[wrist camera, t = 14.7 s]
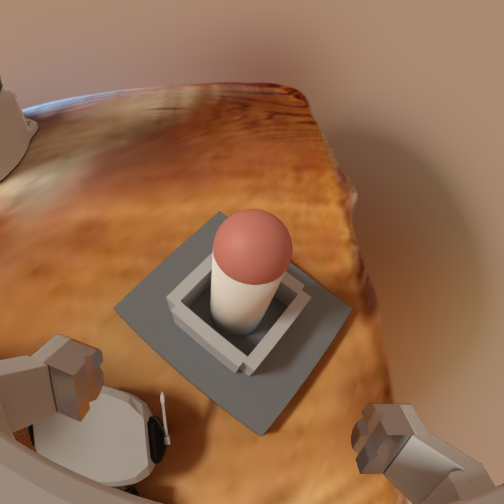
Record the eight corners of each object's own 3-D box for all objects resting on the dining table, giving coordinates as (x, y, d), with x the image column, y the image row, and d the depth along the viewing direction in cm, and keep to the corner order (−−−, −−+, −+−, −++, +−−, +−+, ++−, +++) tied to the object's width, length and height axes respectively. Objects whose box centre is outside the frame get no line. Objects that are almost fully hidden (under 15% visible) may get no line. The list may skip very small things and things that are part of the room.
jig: (117, 314, 26) (103, 294, 22) (218, 220, 32) (221, 191, 28) (258, 435, 22) (268, 438, 18) (346, 314, 29) (366, 295, 25)
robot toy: (188, 542, 16) (170, 386, 23) (186, 565, 12) (162, 384, 19) (59, 525, 14) (40, 377, 21) (38, 539, 10) (15, 371, 17)
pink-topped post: (199, 313, 25) (195, 227, 15) (232, 278, 27) (251, 180, 17) (240, 346, 24) (267, 282, 14) (272, 308, 26) (316, 224, 16)
